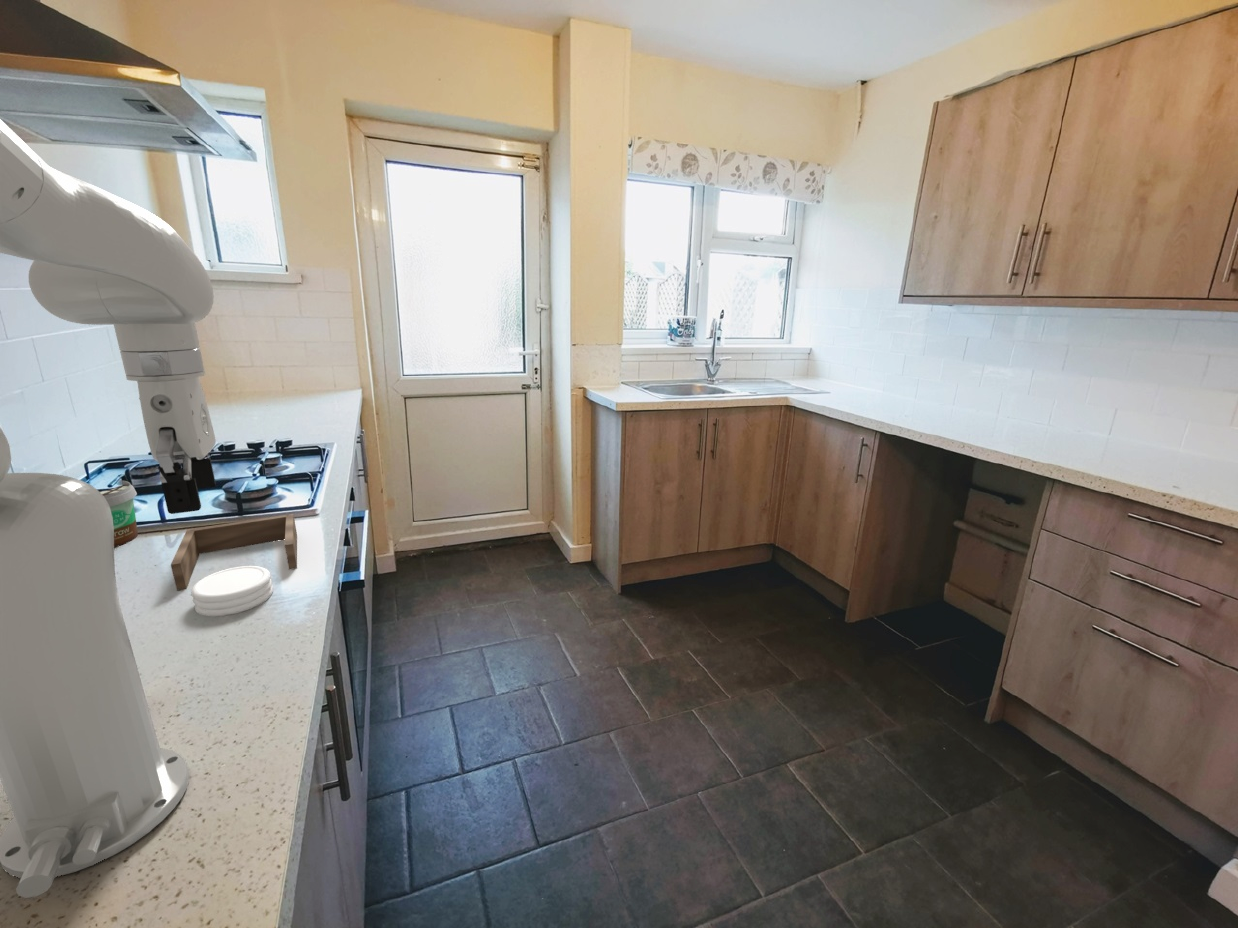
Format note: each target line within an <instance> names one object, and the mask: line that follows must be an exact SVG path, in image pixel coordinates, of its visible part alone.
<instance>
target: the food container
mask: <svg viewBox="0 0 1238 928" xmlns="http://www.w3.org/2000/svg"><path fill="white" fill-rule="evenodd" d="M121 484H122V485H119V486H116V487H114V488H110V489H107V490H98V491H99V492H100V493H101V494H102V495H103V496H104V498H105V499H106V501H107V502H108V504H109V507H110V510H111V514H112V518H113V527H114V548H116V547H119V546H123V545H125V544H128V543H131V542H133V540H135V539H136V538H138V536H139V535H138V534H139V533H138V526H137V517H136V510H135V503H134V498H135V497H137V495H138V493H137V491H136V489H135V487H134V485H132V484H131V482H129V481H126V480H122V481H121Z"/></svg>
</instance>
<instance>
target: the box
mask: <svg viewBox="0 0 1238 928" xmlns="http://www.w3.org/2000/svg"><path fill="white" fill-rule="evenodd" d="M296 527H297V526H296V522H295V515H294V513H288V514H284V515H282V514H281V515H274V516H271V517H263V518H255V519H250V520H243V521H236V522H229V523H223V524H221V523H220V524H217V525H215V524H214V525H210V526H201V527H197V528H196V527H195V528H189V529H186V531H185V533H184V535H183V537H182V539H181V542H180V544H179V546H178V548H177V550H176V553H175V555H174V557H173V559H172V561H171V562H170V568H171V573H172V576H173V581H174V585H175V589H176V591H178V592H179V591H184V590H187V588H188V586H189V583H190V582H191V581H190V580H191V579H192V576H193V573H194V570H195V567H196V564H197V562H198V559H199V557H200V555H202V554H209V553H215V552H220V551H225V550H232V549H239V548H245V547H251V546H255V545H262V544H263V545H264V544H269V543H274V542H273V541H275V542H278V540H281V541H284V550H285V554H286V560H287V561H286V562H287V567H288V570H294V569H297V568H298V533H297V532H298V531H297V528H296ZM284 539H285V540H284Z"/></svg>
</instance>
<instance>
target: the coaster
mask: <svg viewBox="0 0 1238 928" xmlns="http://www.w3.org/2000/svg"><path fill="white" fill-rule="evenodd" d="M271 576H272V575H271V572H270V570H268V569H267V568H265V567H262V566H258V565H257V566H256V565H242V566H234V567H229V568H227V569H223V570H220V571H216V572H214V573H212V574H209V575H207V576H205V577H202V579H200V580H198V581H197V582H196V583H195V584H194V585H193V587H192V589H191V596H192V602H193V604H194V606H193V607H194V610H195V611H196V612H197V614H199V615H202V616H206V617H223V616H224V617H225V616H230V615H235V614H238V613H239V614H240V613H243V612H245V611H249V610H251V609H253V608H255V607H257V606H259V605H261V604H263V603H264V602H266V601H267V600H269V598H271V596H272V594H273V592H274V586H273V579H271Z"/></svg>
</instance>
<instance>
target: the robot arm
mask: <svg viewBox="0 0 1238 928" xmlns="http://www.w3.org/2000/svg"><path fill="white" fill-rule="evenodd" d="M0 254H4V255H8V256H13V257H17V258H21V259H25V260H30V261H32V263H31V265H30V267H29V270H28V283H29V287H30V291H31V293H32V295H33V297H34V298H35V300H36V301H37V302H38V303H39V304H40V306H41V307H42V308H43V309H44V310H46V311H48V312H49V313H50V314H51V315H53V316H55V317H57V318H59V319H61V320H64V321H67V322H69V323H75V324H80V325H93V326H96V325H97V326H98V325H99V326H101V325H106V326H107V325H108V326H110V325H113V328H114V332H115V337H116V339H117V344H118V350H119V351H120V356H121V361H122V365H123V366H122V367H123V369H124V370H123V371H124V373H125V379H126V381H127V380H128V381H132V382H137V390H138V394H139V395H138V396H139V397H138V400H139V402H140V408H141V414H142V419H143V425H144V429H145V432H146V433H145V434H146V437H147V441H148V446H149V447H148V448H149V450H150V453H151V455H152V459H153V460H154V461H156V462H157V463H158V464H159V466H158V467H157V469H158V472H159V480H160V482H161V483H160V484H161V488H162V492H163V496H164V497H163V498H164V500H165V504H166V509H167V512H168V513H169V514H171V515H172V514H173V515H175V514H182V513H183V514H184V513H190V512H191V513H192V512H197V511H198V512H199V510H201V508H202V503H201V500H200V494H199V489H209V488H214V487H215V486H216V485H217V484H216V479H215V475H214V474H215V472H214V468H213V463H212V459H211V458H210V452H211V451H212V449H213V448H214V447H215V445H216V441H217V440H216V436H215V432H214V427H213V423H212V419H211V416H210V412H209V408H208V404H207V403H208V402H207V400H206V396H205V393H204V390H203V386H202V383H201V379H200V377H205V375H206V371H205V367H204V362H203V357H202V356H203V355H202V352H201V351H202V350H201V348H200V346H201V345H200V341H199V336H198V331H197V326H196V323H198V322H199V321H202V320H203V319H205V318H206V317H207V316H208V315H209V314H210V312H211V311H212V308H213V304H214V288H213V284H212V281H211V279H210V276H209V274H208V272H207V270H206V269H205V267H204V265H203V264H202V262H201V260H200V259H199V258H198V256H197V255H196V253H194V251H193V249H191V247H190V246H189V245H188V244H187V243H186V241H184V239H183V238H182V236H180V235H179V233H178V232H177V231H176V230H175V229H174V228H173V227H172V226H170V225H169V224H168V223H167V222H166V221H164V220H163V219H162V218H160V217H158V216H156V214H153V213H151V212H150V211H148V210H146V209H144V208H143V207H140V206H139V205H137V204H134V203H132V202H131V201H128V200H126V199H124V198H122V197H119V196H117V195H115V194H114V193H113V194H112V193H111V192H108V191H106V190H104V189H103V188H100V187H98V186H96V185H93V184H91V183H89V182H87V181H85V180H82V179H81V178H80V179H79V178H78V177H76V176H72V175H70V174H68V173H65V172H63V171H60V170H58V169H55V168H53V167H51V166H49V165H48V164H47V163H46V162H45V161H44V160H43V159H42V157H40V156H39V155H38V154H37V153H36V152H35V151H34V150H33V149H32V148H31V147H30V146H29V145H28V144H27V143H25V141H23V139H22V138H20V137H19V135H17V133H16V132H14V131H13V130H12V128H10V127H9V126H8V125H7V124H6V123H5V122H4V121H3V120H2V119H1V118H0ZM11 463H12V454H11V446H10V443H9V441H8V439H7V437H6V435H5V432H4V431H3V429H2V428H1V427H0V782H1V784H2V788H3V790H4V793H5V795H6V798H7V801H8V803H9V806H10V808H11V810H12V813H13V818H12V819H11V820H10V821H9V822H8V824H7V825H6V826H5V827H4V830H3V832H2V833H1V834H0V866H1V868H2V870H3V869H4V870H6V871H7V872H8V873H9V874H8V873H7V872H6V871H5V872H6V873H7V874H8V875H10V876H11V875H14V876H16V877H15V878H17V877H18V879H20V880H19V881H18V883H17V886H16V889H15V891H16V894H17V896H20V897H22V898H34V897H37V896H38V897H39V896H41V895H42V894H44V893H45V892H48V890H49V889H50V888H51V887H52V885H53V882H54V881H55V878H56V877H57V876H58V877H60V876H61V875H62V876H64V875H68V874H72V873H75V872H78V871H81V870H84V869H87V868H90V867H92V866H95V865H96V863H97V864H99V863H100V861H101V862H102V860H103V861H105V860H107V859H109V858H111V857H113V856H115V855H116V854H118V853H120V852H122V851H123V850H126V849H127V848H129V847H130V846H132V845H133V844H135V843H136V842H137V841H139V840H140V839H142V838H143V837H145V836H146V835H148V834H149V833H150V832H151V831H152V830H153V829H155V828H156V827H157V826H158V825H159V824H160V823H161V822H163V821H164V820H165V819H166V817H168V815H170V813H172V811H174V809H175V808H176V806H177V805H178V804H179V802H181V800H182V798H183V796H184V794H185V793H186V790H187V788H188V786H189V782H190V770H189V766H188V763H187V761H186V758H185V757H184V756H182V754H181V753H179V752H177V751H175V750H173V749H170V748H169V749H168V748H163V747H160V744H159V740H158V736H157V733H156V730H155V725H154V722H153V718H152V715H151V711H150V708H149V703H148V700H147V696H146V695H145V694H146V693H145V691H144V686H143V683H142V679H141V676H140V672H139V669H138V664H137V661H136V658H135V655H134V650H133V647H132V644H131V640H130V638H129V637H130V636H129V634H128V630H127V627H126V621H125V619H124V614H123V610H122V607H121V606H122V605H121V602H120V596H119V591H118V587H117V576H116V569H115V566H116V565H115V547H114V527H113V518H112V514H111V510H110V507H109V504H108V502H107V501H106V499H105V498H104V496H103V495H102V494H101V493H100V492H99V491H100V490H98V489H97V488H96V487H94V486H93V485H91V484H89V483H87V482H86V481H83V480H82V479H77V478H75V477H71V476H68V475H63V474H62V475H61V474H56V473H45V472H10V473H9V470H10V468H11V465H12V464H11ZM104 859H105V860H104ZM98 862H99V863H98ZM94 864H95V865H94ZM4 870H3V871H4ZM14 876H13V877H14Z"/></svg>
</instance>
